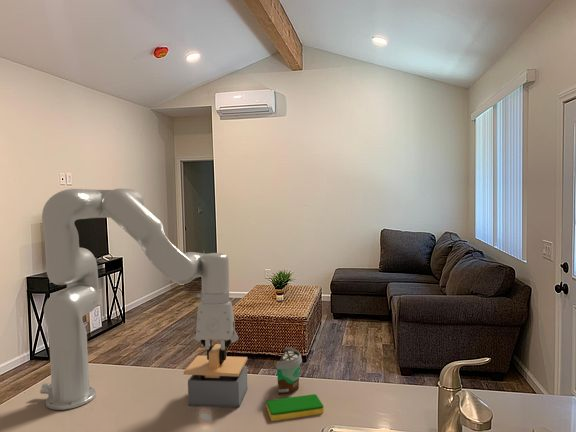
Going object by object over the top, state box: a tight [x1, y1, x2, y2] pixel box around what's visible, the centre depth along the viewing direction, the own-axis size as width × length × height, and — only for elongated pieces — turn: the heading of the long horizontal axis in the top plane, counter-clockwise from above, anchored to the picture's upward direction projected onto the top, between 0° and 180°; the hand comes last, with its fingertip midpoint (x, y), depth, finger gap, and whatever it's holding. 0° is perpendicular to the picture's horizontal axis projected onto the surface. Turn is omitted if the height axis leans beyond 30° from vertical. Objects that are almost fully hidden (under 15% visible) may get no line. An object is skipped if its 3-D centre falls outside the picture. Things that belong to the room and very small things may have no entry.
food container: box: [276, 347, 303, 396], centre depth 126 cm, size 12×6×10 cm, turn 168°
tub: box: [187, 365, 248, 409], centre depth 121 cm, size 14×11×7 cm
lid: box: [183, 343, 248, 378], centre depth 121 cm, size 15×12×6 cm
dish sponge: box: [266, 393, 325, 422], centre depth 113 cm, size 7×14×2 cm, turn 103°
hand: (216, 361), depth 121 cm, fingers closed on lid
